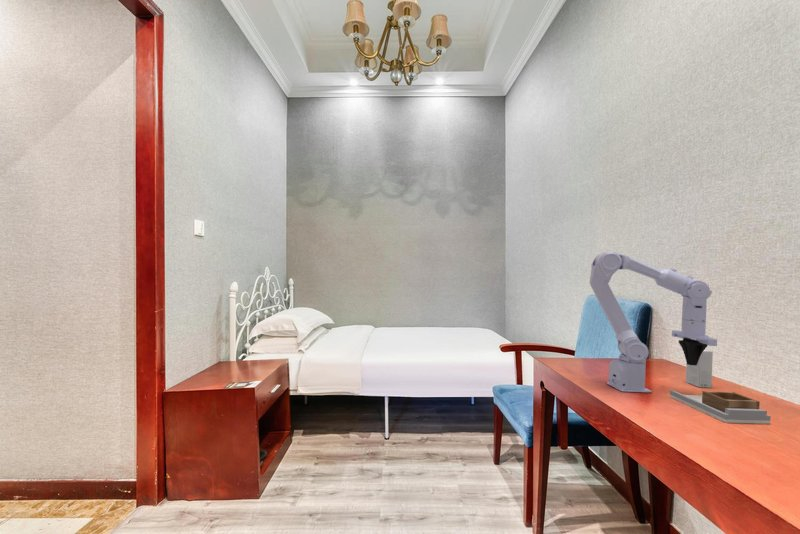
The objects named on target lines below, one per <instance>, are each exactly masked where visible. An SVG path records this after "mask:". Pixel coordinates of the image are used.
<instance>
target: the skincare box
mask: <svg viewBox="0 0 800 534" xmlns="http://www.w3.org/2000/svg"><path fill="white" fill-rule="evenodd" d="M713 352H714V351H711V350H708V349H706V348H705V349H704V351H703V352H702V354H701V356H700V358H699V361H698V363H697V365H688V364H687V362H686V364H685V365H686V366H685V367H686V369H685V382H686V383H688V384H691V385H693V386H695V387H698V388H707V389H709V388H712V387H713V385H712V384H713V383H712V382H713V380H712V379H713Z"/></svg>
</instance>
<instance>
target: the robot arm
mask: <svg viewBox="0 0 800 534" xmlns="http://www.w3.org/2000/svg"><path fill="white" fill-rule="evenodd" d="M590 268H591V270H590V277H589V284H590V287H591V289H592V292H593V293H594V295H595V297H596V298H597V301H598V302H599V304H600V306H601V308H602V310H603V312H604V314H605V316H606V317H607V320H608V322H609V324H610V326H611V328H612V329H613V331H614V334H615V338H616V340H617V349H618V351H619V352H620V355H619V356H618V359H613V360H611V361H610V363H609V366H608V381H607V382H606V383H607V385H609V386H611V387H613V388H614V389H616V390H619V391H620V392H623V393H625V392H627V393H628V392H629V393H652V392H653V391H652V390H650V389H648V388H646V366H647V365H646V364H647V363H646V361H647V360H646V359H647V358H649V354H650V353H649V348H648V346H647V345H646V344H645V343H644V342H642V341H641V340H640V338H639V337H638V334H636V332H634V330H633V328H632V327H631V325H630V322H629V321H628V318H627V317H626V315H625V313H624V311H623V310H622V307H621V306H620V304H619V302H618V300H617V298H616V297H615V294H614V293H613V290H612V289H611V286H610V285H609V283H610V281H611V279H612V277H613V275H614V274H615V273H616V272H617V271H619V270H630V271H632V272H635V273H636V274H640V275H642V276H645V277H648V278H650V279H652V280H654V281H655V283H656V285H657V286H659V287H661V288H663V289H666V290H669V291H670V292H671V291H672V292H674V293H676V294H678V295H681V296H682V306H681V307H682V308H681V310H682V313H681V328H680V329H681V330H674V329H672V330H671V337H673V338H675V337H676V338H680V339H679V340H678V344H679V345H680V347H681V350H682V351H683V354H684V357H685V358H684V359H685V362H686V363H687V364H688V365H697V363H698V361H699V358H700V356H701V354H702V352H703V351H704V349H705V350H706V349H707V347H708V346H710V347H717V346H718V339H717V338H713V337H711V336H709V335H707V334H706V330H707V305H708V304H707V302H708V301H707V300H708V298H710V297H711V295H712V290H711V289H710V288H711V287H710V286H709V284H707V283H706V282H705V281H702V280H694V277H693V276H691V275H688V276H687V275H684V274H681V273H679V272H677V271H678V270H677V269H676V268H664V269H661V270H660V269H658V268H656V267H654V266H652V265H649V264H647V263H645V262H642V261H640V260H639V259H635V258H634V257H630V256H628V255H625V254H622V253H618V252H615V251H607V252H601V253H599V254H597V255H596V256H595V257H594V259H593V261H592V262H591V267H590ZM681 339H682V340H681Z"/></svg>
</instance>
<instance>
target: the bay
mask: <svg viewBox="0 0 800 534" xmlns="http://www.w3.org/2000/svg"><path fill="white" fill-rule="evenodd" d="M669 395H670V396H669V397H670V399H673V400H676V401H678V402H680V403H682V404H684V405H686V406H689V407H691V408H693V409H695V410H697V411H699V412H701V413H704V414H705V415H708V416H710V417H712V418H714V419H716V420H718V421H720V422H723V423H726V424H758V425H759V424H763V425H771V415H769V414H768V411H767V410H765V409H763V408H759V409H738V408H725V413H724V412H722V411H720V410H717V409H715V408H713V407H710V406H708V405H706V404H704V403H702V394H684V393H681V392H678V391H676V390H674V389H673V390H672V389H671V390H670V392H669Z"/></svg>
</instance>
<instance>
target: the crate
mask: <svg viewBox="0 0 800 534" xmlns="http://www.w3.org/2000/svg"><path fill="white" fill-rule="evenodd" d="M701 395H702V403H704V404H706V405H708V406H710V407H713V408H715V409H717V410H720V411H722V412H724V413H725V408H738V409H760V401H759V400H756V399H753V398H750V397H748V396H745V395H742V394H740V393H737V392H734V391H710V390H709V391H708V390H707V391H705V390H704V391H702V393H701Z"/></svg>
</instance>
